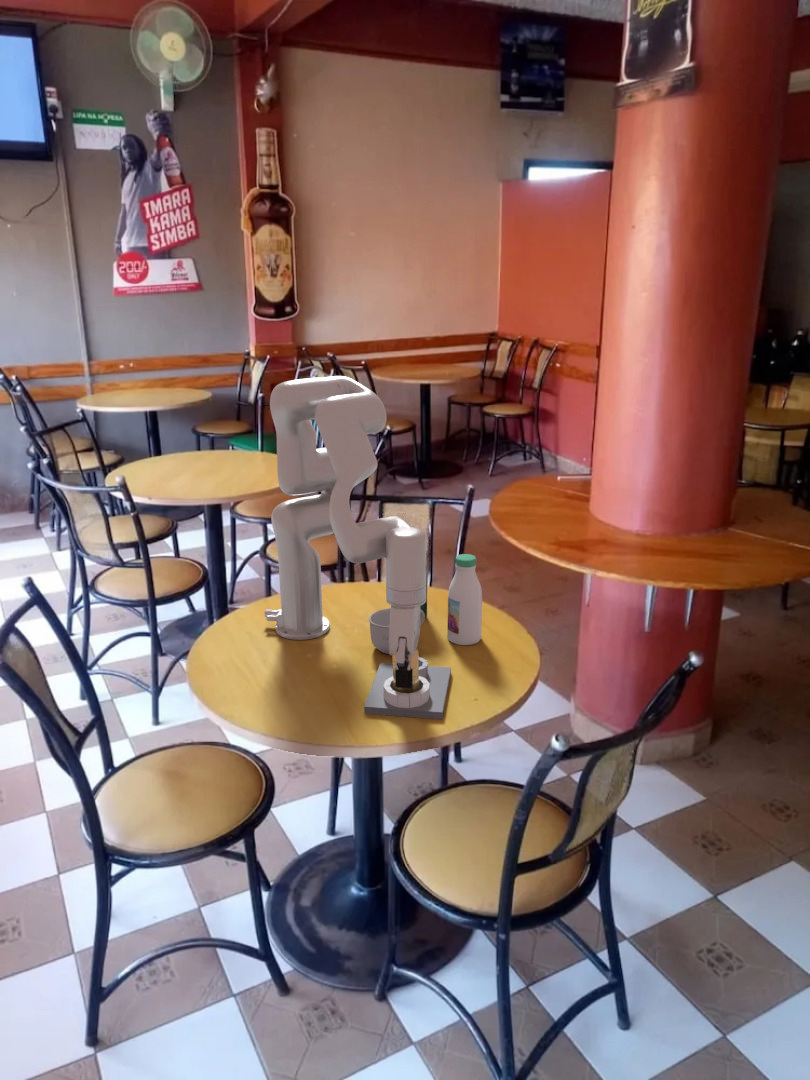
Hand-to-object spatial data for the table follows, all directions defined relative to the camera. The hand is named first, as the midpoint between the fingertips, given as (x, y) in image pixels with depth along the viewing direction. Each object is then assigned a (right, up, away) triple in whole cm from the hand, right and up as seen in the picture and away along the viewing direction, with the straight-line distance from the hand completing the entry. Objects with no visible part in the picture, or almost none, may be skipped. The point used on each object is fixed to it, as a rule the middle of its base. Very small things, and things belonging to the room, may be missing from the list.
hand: (406, 677), depth 159 cm
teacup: (-2, +2, +25) cm, 25 cm away
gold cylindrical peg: (0, -4, +1) cm, 4 cm away
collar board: (+1, -4, +5) cm, 7 cm away
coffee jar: (+1, +8, +41) cm, 42 cm away
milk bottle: (+13, +4, +29) cm, 32 cm away
